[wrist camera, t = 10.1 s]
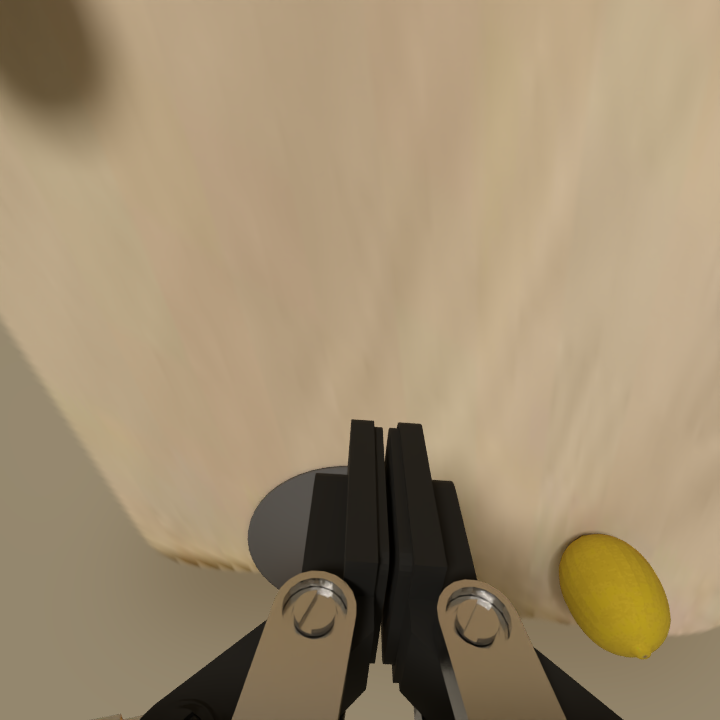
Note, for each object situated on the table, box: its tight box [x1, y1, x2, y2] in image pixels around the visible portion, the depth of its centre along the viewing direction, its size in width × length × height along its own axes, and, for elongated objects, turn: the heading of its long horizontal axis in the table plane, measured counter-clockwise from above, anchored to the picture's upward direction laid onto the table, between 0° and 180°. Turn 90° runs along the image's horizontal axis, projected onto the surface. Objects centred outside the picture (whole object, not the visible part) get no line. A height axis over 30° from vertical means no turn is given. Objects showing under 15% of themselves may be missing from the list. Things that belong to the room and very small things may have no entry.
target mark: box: [248, 466, 348, 590], centre depth 33 cm, size 14×14×1 cm
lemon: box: [559, 534, 671, 659], centre depth 29 cm, size 6×6×8 cm
